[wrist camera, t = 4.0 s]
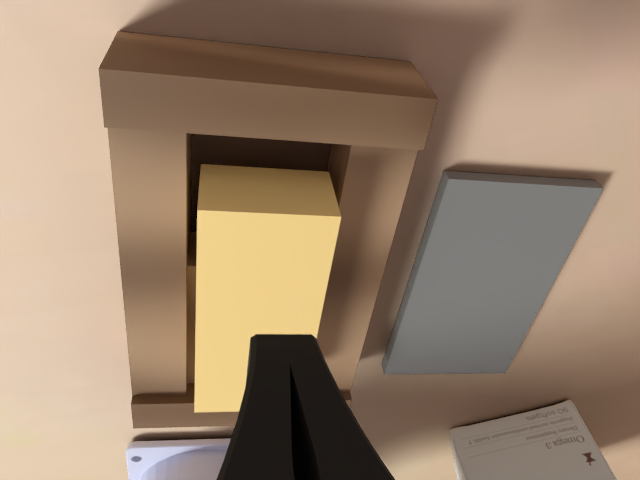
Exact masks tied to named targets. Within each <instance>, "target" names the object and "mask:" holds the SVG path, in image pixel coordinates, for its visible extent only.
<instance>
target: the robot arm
mask: <svg viewBox="0 0 640 480" xmlns="http://www.w3.org/2000/svg"><path fill="white" fill-rule="evenodd" d="M126 460H127V468H128V477H129V480H395V479H394V477H393V476H392V475H391V473H390V472H389V470H388V469H387V467H386V466H385V464H384V463H383V462H382V460H381V459H380V457H379V455H378V454H377V452H376V451H375V449H374V448H373V446H372V445H371V443H370V442H369V440H368V438H367V437H366V435H365V434H364V432H363V430H362V429H361V427H360V425H359V424H358V422H357V420H356V418H355V417H354V415H353V413H352V411H351V410H350V408H349V406H348V404H347V403H346V401H345V399H344V397H343V395H342V393H341V391H340V390H339V388H338V386H337V384H336V382H335V380H334V378H333V376H332V374H331V372H330V370H329V367H328V365H327V363H326V361H325V359H324V357H323V354H322V352H321V350H320V347H319V345H318V342H317V340H316V338H315V337H314V336H313V335H312V334H256V335H254V336H253V337H251V338H250V347H249V357H248V367H247V377H246V387H245V391H244V395H243V399H242V403H241V407H240V410H239V414H238V418H237V421H236V425H235V428H234V431H233V434H232V437H231V438H225V439H193V440H162V441H135V442H131V443H129V444H128V445H127V448H126Z"/></svg>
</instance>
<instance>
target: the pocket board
mask: <svg viewBox="0 0 640 480" xmlns="http://www.w3.org/2000/svg"><path fill="white" fill-rule="evenodd" d="M99 76H100V87H101V97H102V107H103V118H104V127H107V128H108V137H109V147H110V158H111V169H112V180H113V191H114V202H115V212H116V223H117V234H118V245H119V256H120V266H121V277H122V288H123V299H124V310H125V321H126V331H127V342H128V353H129V364H130V375H131V386H132V402H131V409H132V419H133V428H165V427H201V426H235V425H236V421H237V418H238V414H239V412H195V413H194V396H195V327H196V259H197V232H190V228H191V134H205V135H219V136H233V137H247V138H261V139H275V140H289V141H303V142H317V143H330V144H332V146H331V151H330V157H329V163H328V169H327V172H329V174H330V178H331V181H332V185H333V188H334V192H335V195H336V199H337V203H338V206H339V210H340V213H341V221H340V226H339V231H338V236H337V241H336V246H335V251H334V255H333V260H332V265H331V270H330V275H329V280H328V285H327V290H326V295H325V299H324V304H323V309H322V314H321V319H320V324H319V329H318V334H317V338H316V340H317V342H318V345H319V347H320V350H321V352H322V354H323V357H324V359H325V361H326V363H327V365H328V367H329V370H330V372H331V374H332V376H333V378H334V380H335V382H336V384H337V386H338V388H339V390H340V391H341V393H342V395H343V397H344V399H345V401H346V403H347V404H348V406H349V408H350V404H351V401H352V400H351V395H350V391H351V387H352V384H353V380H354V376H355V373H356V369H357V366H358V362H359V359H360V355H361V352H362V348H363V344H364V341H365V337H366V334H367V330H368V327H369V323H370V320H371V316H372V312H373V309H374V305H375V302H376V298H377V295H378V291H379V288H380V284H381V280H382V277H383V273H384V270H385V266H386V263H387V259H388V256H389V252H390V248H391V245H392V241H393V238H394V234H395V231H396V227H397V224H398V220H399V216H400V213H401V209H402V206H403V202H404V199H405V195H406V191H407V188H408V184H409V181H410V177H411V174H412V170H413V167H414V163H415V159H416V156H417V152H418V150H424V147H425V143H426V140H427V136H428V133H429V129H430V126H431V123H432V119H433V116H434V112H435V109H436V105H437V102H438V99H437V97H436V96H435V94H434V93H433V92H432V90H431V89H430V88H429V86H428V85H427V83H426V82H425V81H424V79H423V78H422V77H421V75H420V74H419V73H418V71H417V70H416V68H415V67H414V66H413V64H412V63H411V62H410V61H400V60H390V59H381V58H371V57H361V56H352V55H342V54H332V53H323V52H313V51H303V50H294V49H284V48H274V47H265V46H255V45H245V44H236V43H226V42H217V41H207V40H197V39H188V38H178V37H168V36H159V35H149V34H139V33H130V32H120V31H118V32H117V34H116V36H115V38H114V40H113V42H112V44H111V46H110V48H109V50H108V52H107V54H106V55H105V57H104V59H103V61H102V63H101V65H100V67H99Z"/></svg>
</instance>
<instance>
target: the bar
mask: <svg viewBox="0 0 640 480" xmlns="http://www.w3.org/2000/svg"><path fill="white" fill-rule="evenodd" d="M340 221H341V213H340V210H339V206H338V203H337V199H336V195H335V192H334V188H333V185H332V181H331V178H330V174H329V172H324V171H308V170H292V169H275V168H259V167H243V166H227V165H210V164H201V169H200V182H199V194H198V207H197V259H196V327H195V396H194V413H195V412H239V410H240V407H241V403H242V399H243V395H244V391H245V387H246V377H247V367H248V357H249V347H250V338H251V337H253V336H254V335H256V334H312V335H313V336H314V337H315V338H317V334H318V329H319V324H320V319H321V314H322V309H323V304H324V299H325V295H326V290H327V285H328V280H329V275H330V270H331V265H332V260H333V255H334V251H335V246H336V241H337V236H338V231H339V226H340Z"/></svg>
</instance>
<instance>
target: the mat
mask: <svg viewBox="0 0 640 480" xmlns="http://www.w3.org/2000/svg"><path fill="white" fill-rule="evenodd" d="M603 189H604V188H603V187H602V186H601V185H600V184H599V183H598V182H597V181H596V180H582V179H566V178H551V177H535V176H520V175H504V174H489V173H473V172H458V171H443V174H442V178H441V181H440V184H439V187H438V190H437V193H436V196H435V199H434V203H433V206H432V209H431V212H430V215H429V218H428V221H427V224H426V228H425V231H424V234H423V237H422V240H421V243H420V246H419V249H418V253H417V256H416V259H415V262H414V265H413V268H412V271H411V274H410V278H409V281H408V284H407V287H406V290H405V293H404V296H403V299H402V303H401V306H400V309H399V312H398V315H397V318H396V321H395V324H394V328H393V331H392V334H391V337H390V340H389V343H388V346H387V349H386V352H385V356H384V359H383V362H382V368H383V372H384V374H472V373H506V372H507V370H508V368H509V366H510V364H511V362H512V360H513V358H514V356H515V355H516V353H517V351H518V349H519V347H520V345H521V343H522V341H523V340H524V338H525V336H526V334H527V332H528V330H529V328H530V326H531V324H532V323H533V321H534V319H535V317H536V315H537V313H538V311H539V309H540V307H541V306H542V304H543V302H544V300H545V298H546V296H547V294H548V292H549V291H550V289H551V287H552V285H553V283H554V281H555V279H556V277H557V275H558V274H559V272H560V270H561V268H562V266H563V264H564V262H565V260H566V258H567V257H568V255H569V253H570V251H571V249H572V247H573V245H574V243H575V241H576V240H577V238H578V236H579V234H580V232H581V230H582V228H583V226H584V225H585V223H586V221H587V219H588V217H589V215H590V213H591V211H592V209H593V208H594V206H595V204H596V202H597V200H598V198H599V196H600V194H601V192H602V191H603Z"/></svg>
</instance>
